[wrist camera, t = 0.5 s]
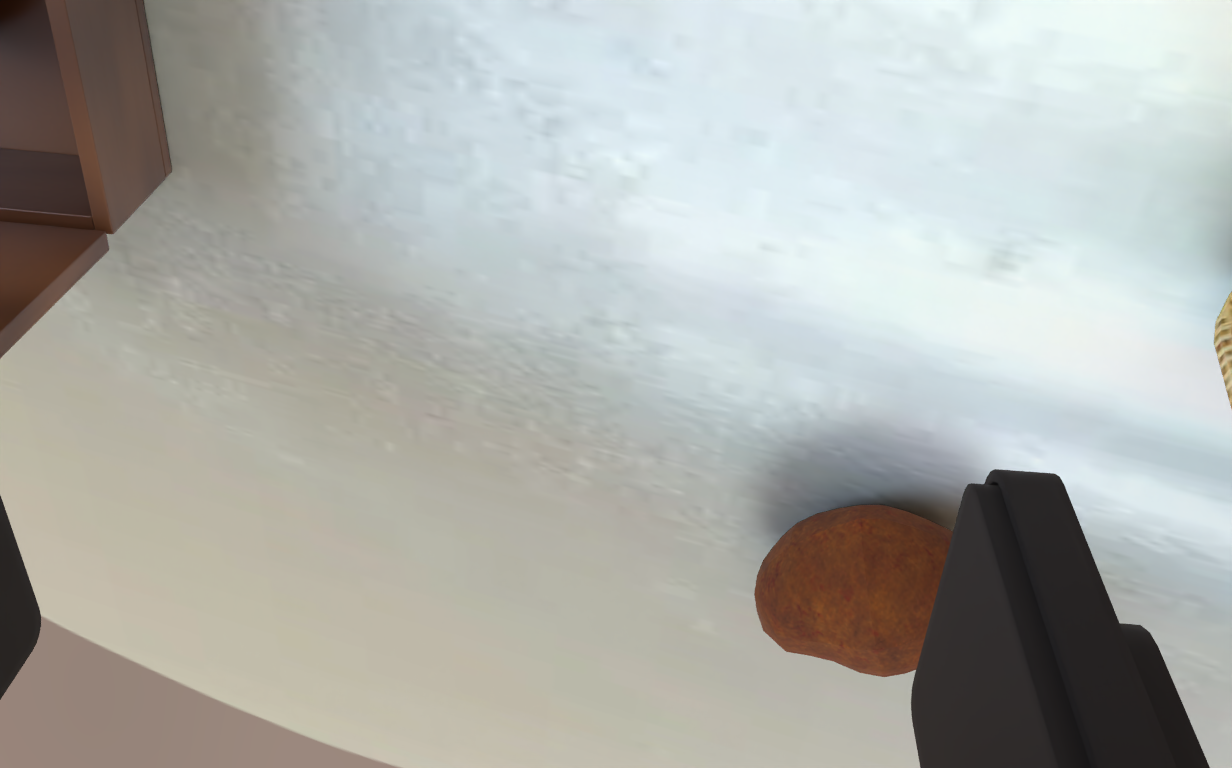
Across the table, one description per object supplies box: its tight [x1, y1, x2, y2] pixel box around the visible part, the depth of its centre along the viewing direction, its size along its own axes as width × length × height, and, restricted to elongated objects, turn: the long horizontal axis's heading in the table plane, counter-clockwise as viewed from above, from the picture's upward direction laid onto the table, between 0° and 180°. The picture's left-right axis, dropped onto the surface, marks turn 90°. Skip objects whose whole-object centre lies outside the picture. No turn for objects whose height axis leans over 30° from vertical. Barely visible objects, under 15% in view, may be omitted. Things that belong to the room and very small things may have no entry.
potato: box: [755, 505, 953, 677], centre depth 53 cm, size 8×11×8 cm
